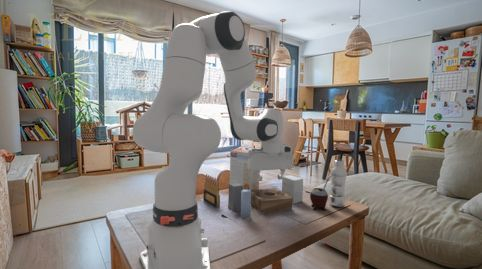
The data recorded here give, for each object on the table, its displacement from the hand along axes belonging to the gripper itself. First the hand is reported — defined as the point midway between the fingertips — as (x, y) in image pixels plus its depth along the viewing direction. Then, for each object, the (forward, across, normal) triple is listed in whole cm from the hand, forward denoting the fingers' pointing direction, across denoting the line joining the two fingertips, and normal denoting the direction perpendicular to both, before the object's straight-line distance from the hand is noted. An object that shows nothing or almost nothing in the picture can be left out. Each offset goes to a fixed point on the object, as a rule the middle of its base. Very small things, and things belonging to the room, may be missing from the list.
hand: (270, 179), depth 111 cm
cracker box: (+11, -5, +17) cm, 21 cm away
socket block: (+11, 0, 0) cm, 11 cm away
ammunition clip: (+11, -23, +9) cm, 27 cm away
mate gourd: (+11, +19, -9) cm, 24 cm away
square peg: (+11, -15, +1) cm, 19 cm away
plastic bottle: (+11, +28, -9) cm, 32 cm away
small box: (+11, +13, +3) cm, 17 cm away
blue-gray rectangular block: (+11, -14, -8) cm, 20 cm away
